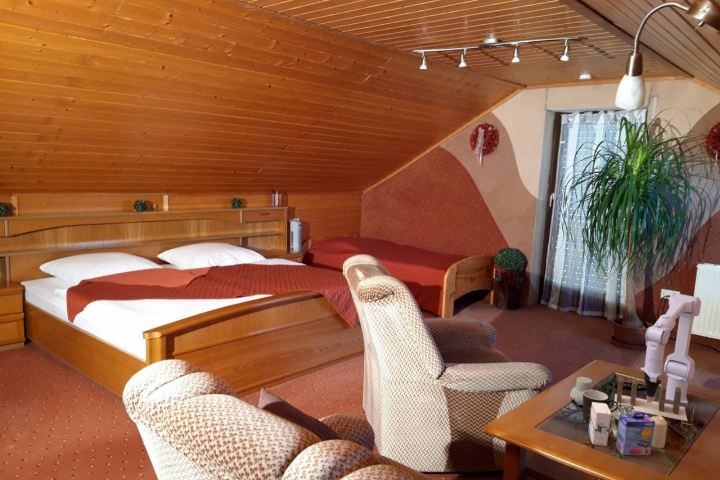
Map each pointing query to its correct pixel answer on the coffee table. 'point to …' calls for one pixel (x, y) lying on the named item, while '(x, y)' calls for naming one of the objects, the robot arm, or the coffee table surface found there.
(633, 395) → the tile
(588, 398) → the coffee mug
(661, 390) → the tile
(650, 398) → the tile
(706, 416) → the coffee table surface
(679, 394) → the tile
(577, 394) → the air freshener
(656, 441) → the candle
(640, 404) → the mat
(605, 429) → the ink box
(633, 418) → the ink cartridge box
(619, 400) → the tile
